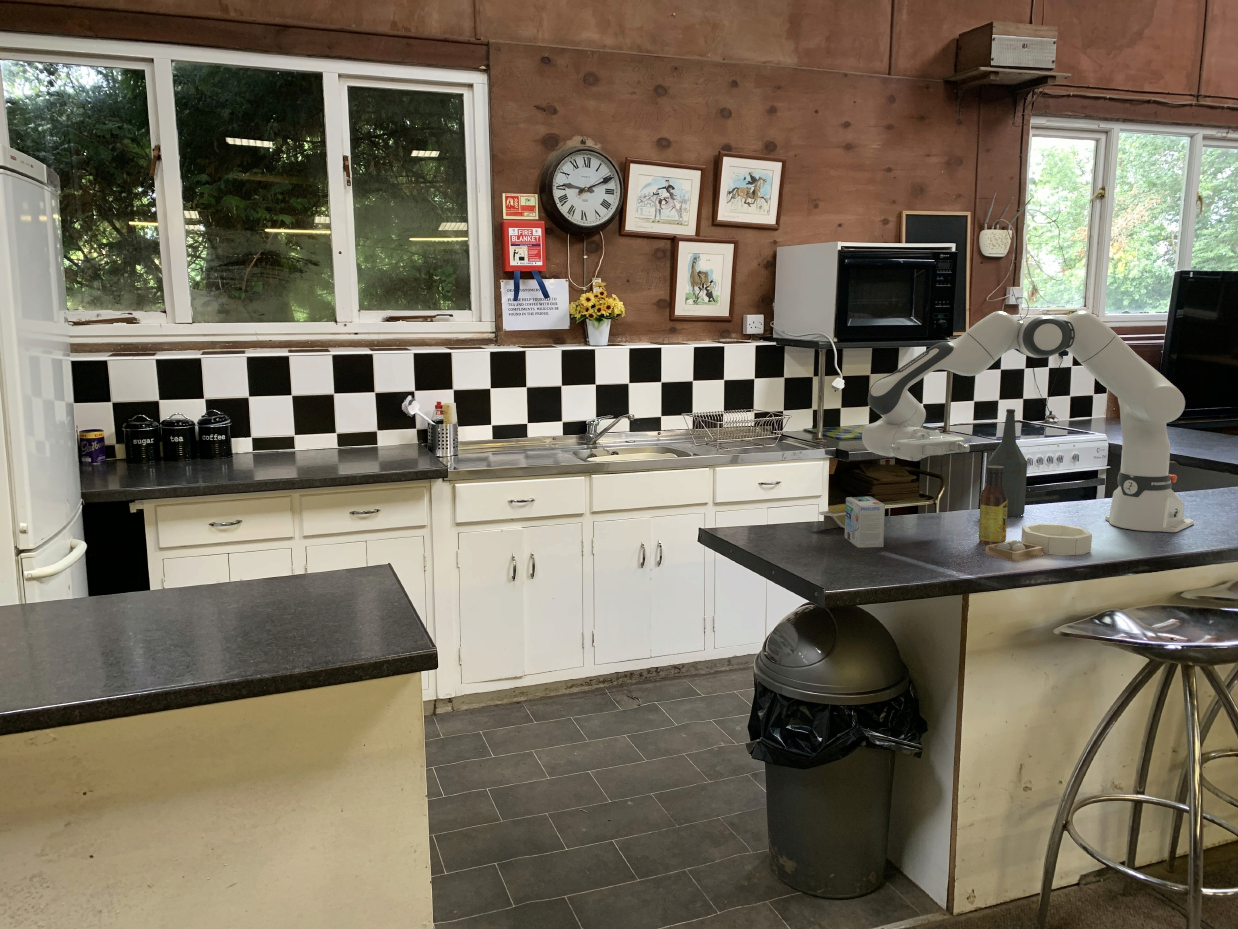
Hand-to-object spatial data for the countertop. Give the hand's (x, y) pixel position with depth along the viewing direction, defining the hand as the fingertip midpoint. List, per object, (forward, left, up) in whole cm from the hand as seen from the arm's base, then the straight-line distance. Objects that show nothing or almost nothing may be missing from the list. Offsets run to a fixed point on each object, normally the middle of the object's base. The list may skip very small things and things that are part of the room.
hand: (955, 450), depth 236 cm
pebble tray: (+5, +22, -22) cm, 32 cm away
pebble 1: (+7, +21, -22) cm, 31 cm away
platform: (+18, -23, -23) cm, 37 cm away
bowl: (-9, +23, -22) cm, 33 cm away
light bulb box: (+23, -8, -23) cm, 33 cm away
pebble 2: (+3, +21, -22) cm, 30 cm away
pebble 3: (+5, +24, -22) cm, 32 cm away
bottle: (-34, -10, -23) cm, 42 cm away
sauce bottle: (0, +12, -23) cm, 26 cm away
